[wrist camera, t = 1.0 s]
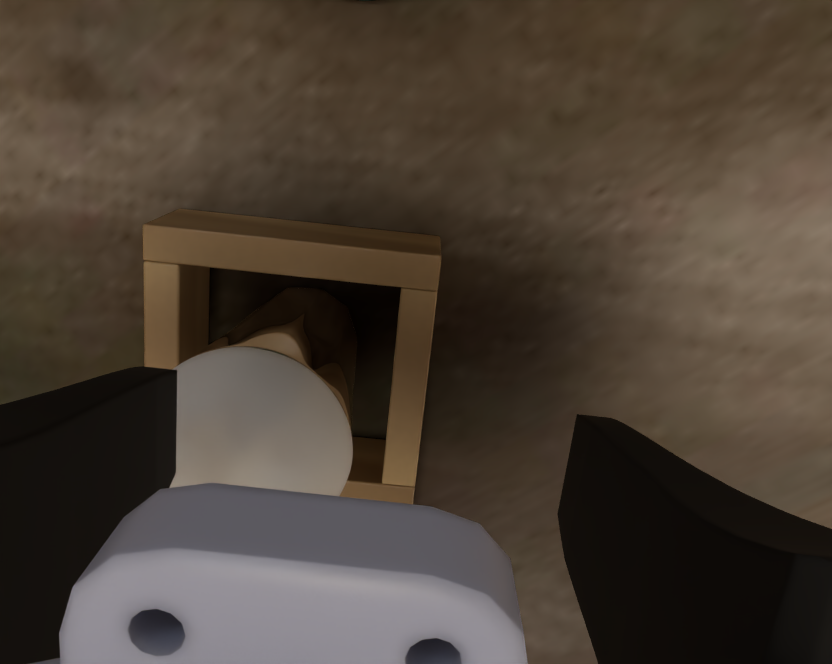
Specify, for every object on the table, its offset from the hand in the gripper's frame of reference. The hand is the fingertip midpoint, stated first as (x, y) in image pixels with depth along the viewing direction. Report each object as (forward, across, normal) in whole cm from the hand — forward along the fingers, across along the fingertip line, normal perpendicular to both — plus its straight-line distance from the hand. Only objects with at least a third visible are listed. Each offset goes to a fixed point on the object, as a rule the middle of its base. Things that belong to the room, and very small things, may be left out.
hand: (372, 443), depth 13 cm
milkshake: (+10, +3, +2) cm, 11 cm away
